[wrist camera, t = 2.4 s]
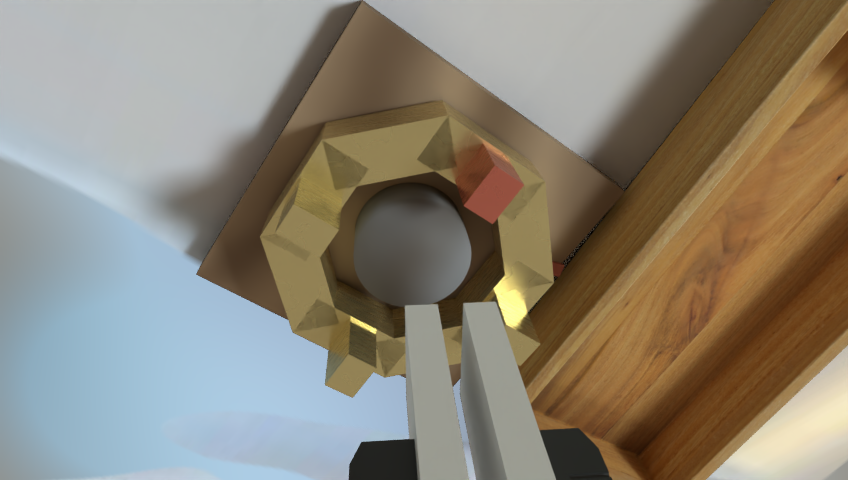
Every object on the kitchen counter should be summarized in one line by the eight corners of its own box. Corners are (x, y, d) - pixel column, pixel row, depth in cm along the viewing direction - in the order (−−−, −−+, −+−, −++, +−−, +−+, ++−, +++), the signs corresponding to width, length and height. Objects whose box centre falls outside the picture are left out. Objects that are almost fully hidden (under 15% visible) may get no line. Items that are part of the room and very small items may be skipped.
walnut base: (203, 261, 34) (181, 302, 30) (362, -1, 28) (360, 9, 25) (445, 383, 40) (453, 431, 36) (619, 185, 34) (651, 216, 30)
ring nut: (232, 269, 32) (206, 332, 27) (371, 51, 28) (371, 77, 23) (439, 374, 37) (449, 445, 32) (588, 201, 32) (629, 252, 27)
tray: (804, -47, 30) (893, -44, 24) (977, 106, 34) (1083, 136, 29) (465, 380, 40) (478, 444, 35) (631, 454, 45) (664, 520, 40)
